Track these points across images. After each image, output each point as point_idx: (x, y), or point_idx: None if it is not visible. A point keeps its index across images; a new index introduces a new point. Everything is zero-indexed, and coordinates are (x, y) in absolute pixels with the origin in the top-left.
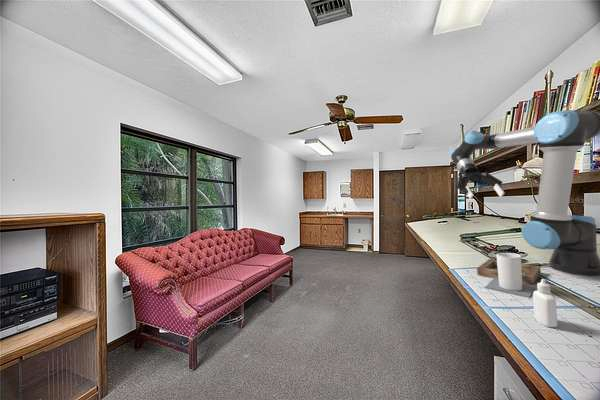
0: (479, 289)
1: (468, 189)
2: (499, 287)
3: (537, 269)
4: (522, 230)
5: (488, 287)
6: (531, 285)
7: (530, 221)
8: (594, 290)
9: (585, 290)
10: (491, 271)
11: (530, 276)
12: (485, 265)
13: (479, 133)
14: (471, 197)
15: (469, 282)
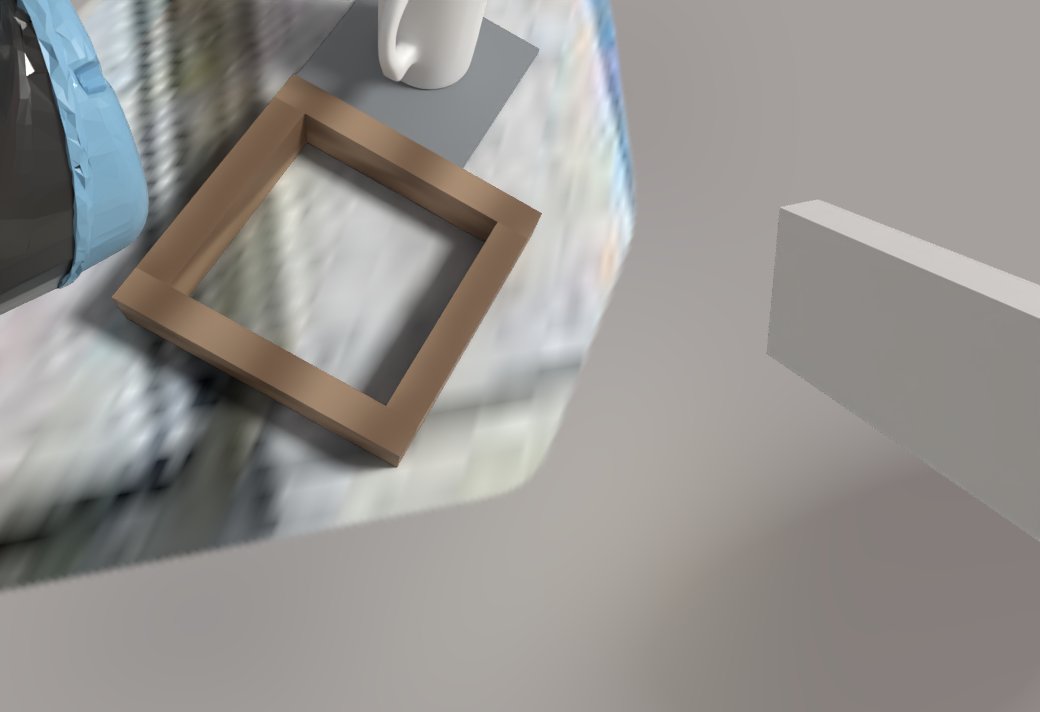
0: (566, 34)
1: (1028, 287)
2: (475, 46)
3: (176, 223)
4: (139, 159)
5: (525, 43)
6: None
7: (11, 78)
8: None
9: None
10: (469, 177)
11: (293, 90)
12: (476, 276)
13: None
14: (788, 294)
15: (595, 114)
